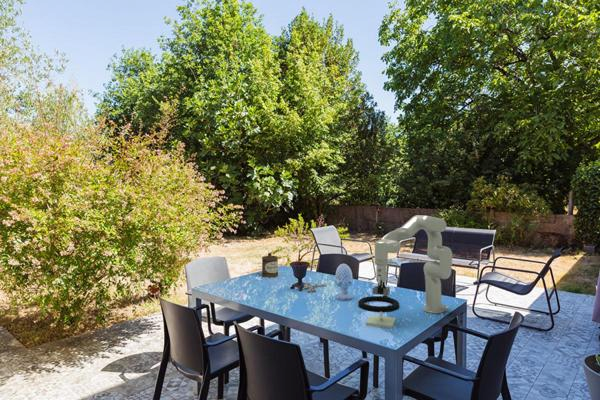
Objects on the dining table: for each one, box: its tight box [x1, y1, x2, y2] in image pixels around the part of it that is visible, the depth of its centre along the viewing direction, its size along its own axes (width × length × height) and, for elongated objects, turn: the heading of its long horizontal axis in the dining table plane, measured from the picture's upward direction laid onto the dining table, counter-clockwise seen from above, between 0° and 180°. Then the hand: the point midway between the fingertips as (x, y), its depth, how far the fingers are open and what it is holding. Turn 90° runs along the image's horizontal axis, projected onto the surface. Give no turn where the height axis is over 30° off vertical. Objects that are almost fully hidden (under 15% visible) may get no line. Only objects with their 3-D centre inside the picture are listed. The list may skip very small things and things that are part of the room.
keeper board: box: [365, 312, 397, 329], centre depth 221 cm, size 15×14×6 cm
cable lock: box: [357, 295, 400, 313], centre depth 255 cm, size 28×4×30 cm
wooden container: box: [261, 252, 279, 279], centre depth 353 cm, size 15×15×22 cm
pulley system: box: [303, 282, 327, 293], centre depth 305 cm, size 27×5×15 cm
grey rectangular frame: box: [372, 285, 391, 296], centre depth 221 cm, size 9×6×4 cm, turn 68°
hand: (381, 292), depth 221 cm, fingers closed on grey rectangular frame, 6 cm apart
